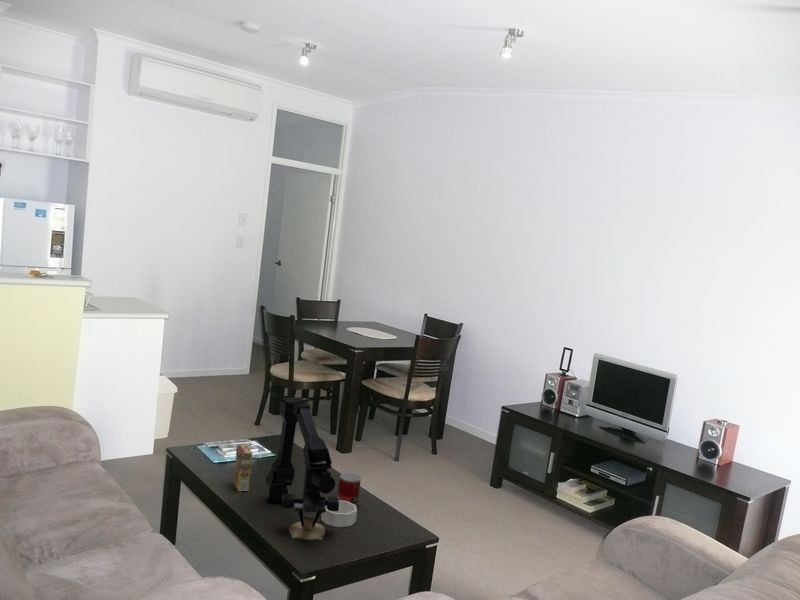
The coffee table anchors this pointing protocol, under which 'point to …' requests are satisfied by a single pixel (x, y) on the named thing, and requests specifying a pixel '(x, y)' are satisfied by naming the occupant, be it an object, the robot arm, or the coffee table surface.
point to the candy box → (242, 468)
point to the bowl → (341, 515)
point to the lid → (307, 529)
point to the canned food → (349, 488)
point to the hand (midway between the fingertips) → (307, 526)
